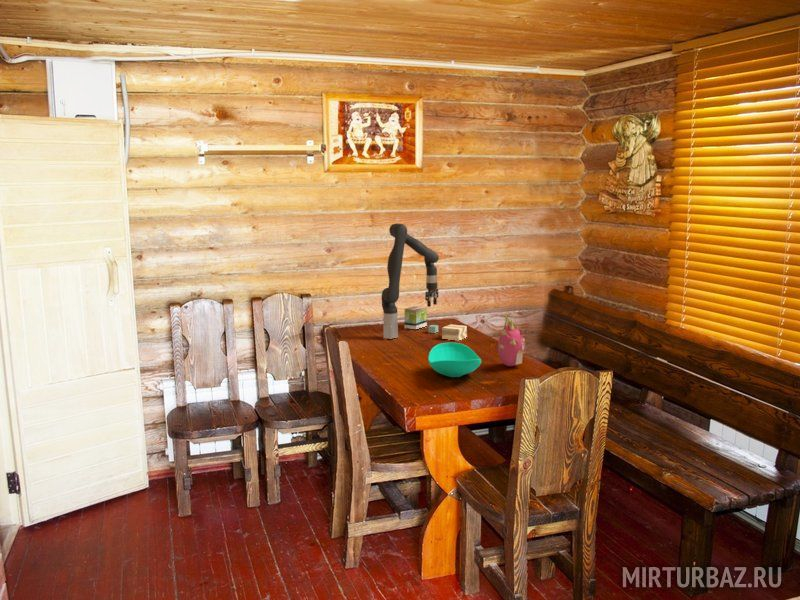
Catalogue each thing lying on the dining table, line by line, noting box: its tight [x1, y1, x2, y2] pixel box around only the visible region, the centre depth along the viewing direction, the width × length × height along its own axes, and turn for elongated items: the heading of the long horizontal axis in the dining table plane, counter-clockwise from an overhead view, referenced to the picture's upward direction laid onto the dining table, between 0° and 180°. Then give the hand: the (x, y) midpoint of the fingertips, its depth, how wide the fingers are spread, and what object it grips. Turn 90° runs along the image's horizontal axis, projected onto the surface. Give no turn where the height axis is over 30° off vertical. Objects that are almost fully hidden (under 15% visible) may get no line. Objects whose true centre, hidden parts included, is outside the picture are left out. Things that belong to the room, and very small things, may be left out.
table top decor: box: [427, 342, 482, 378], centre depth 369 cm, size 40×28×13 cm
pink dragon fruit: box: [497, 312, 526, 367], centre depth 383 cm, size 18×14×30 cm
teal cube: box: [427, 324, 439, 334], centre depth 471 cm, size 5×5×5 cm
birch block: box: [441, 323, 468, 342], centre depth 453 cm, size 12×12×8 cm
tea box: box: [404, 305, 428, 330], centre depth 486 cm, size 15×10×15 cm
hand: (432, 305), depth 470 cm, fingers open, 8 cm apart
